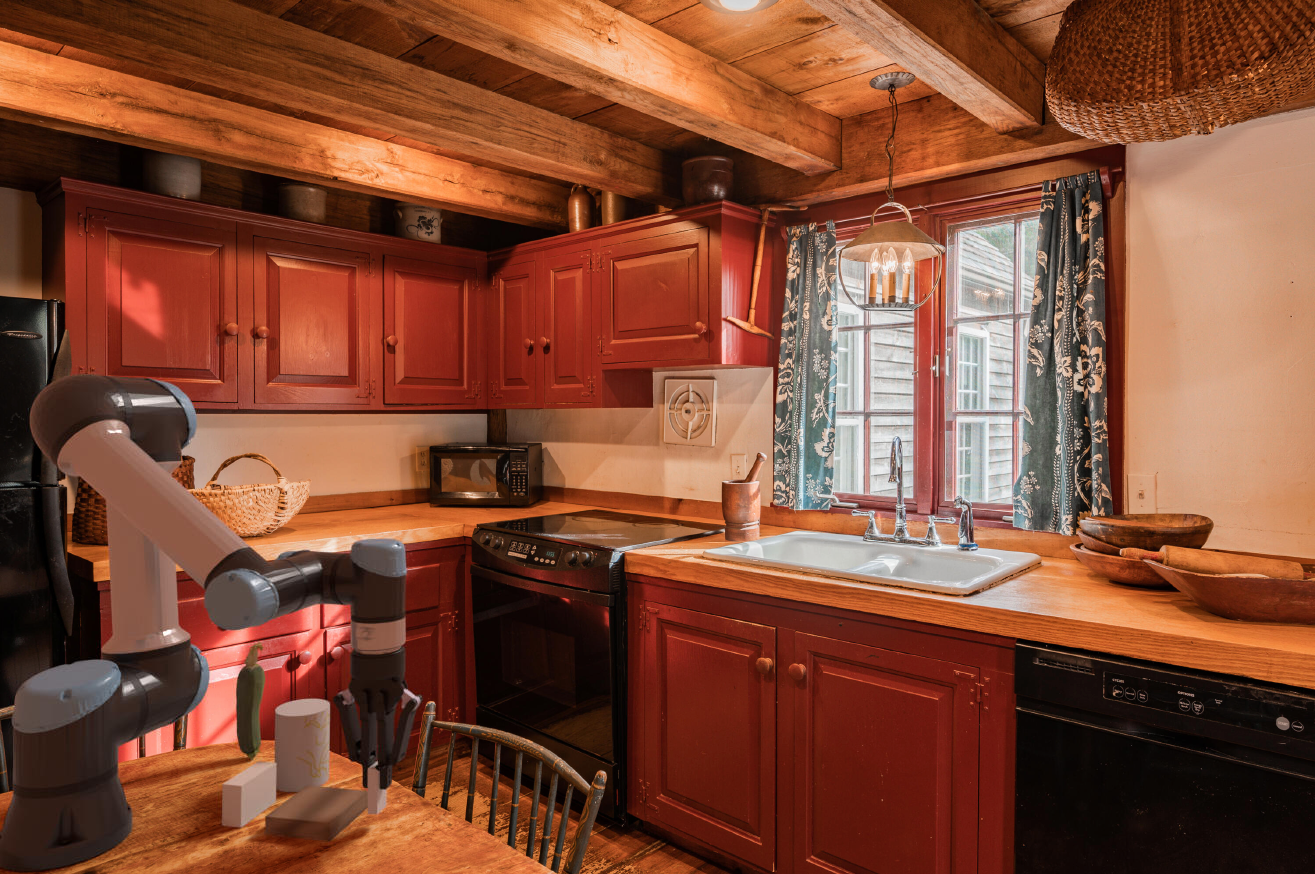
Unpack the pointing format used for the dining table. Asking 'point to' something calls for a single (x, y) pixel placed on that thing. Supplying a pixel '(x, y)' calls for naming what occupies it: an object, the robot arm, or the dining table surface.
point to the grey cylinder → (302, 744)
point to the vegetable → (249, 703)
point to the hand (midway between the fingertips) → (377, 809)
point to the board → (316, 813)
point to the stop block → (248, 794)
